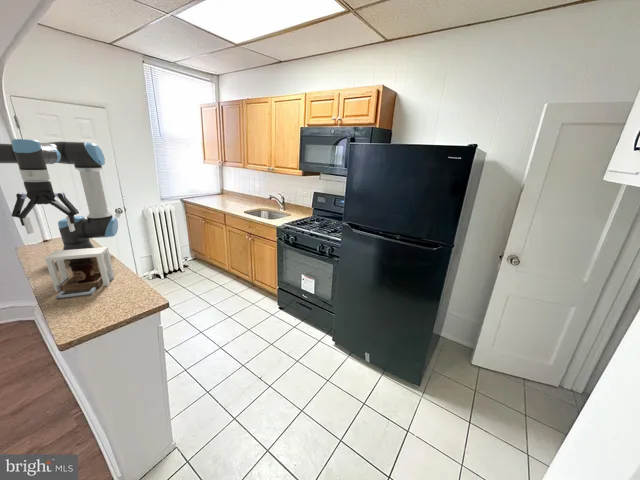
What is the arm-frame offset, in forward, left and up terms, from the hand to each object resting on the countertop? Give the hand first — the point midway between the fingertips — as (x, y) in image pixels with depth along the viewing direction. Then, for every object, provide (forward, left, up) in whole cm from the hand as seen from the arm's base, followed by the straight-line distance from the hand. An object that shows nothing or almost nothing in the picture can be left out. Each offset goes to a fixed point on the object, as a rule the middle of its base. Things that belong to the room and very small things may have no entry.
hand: (52, 232), depth 110 cm
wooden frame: (-9, +5, -28) cm, 29 cm away
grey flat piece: (+5, +5, -28) cm, 29 cm away
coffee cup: (-5, +5, -28) cm, 29 cm away
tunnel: (-5, +5, -28) cm, 29 cm away
